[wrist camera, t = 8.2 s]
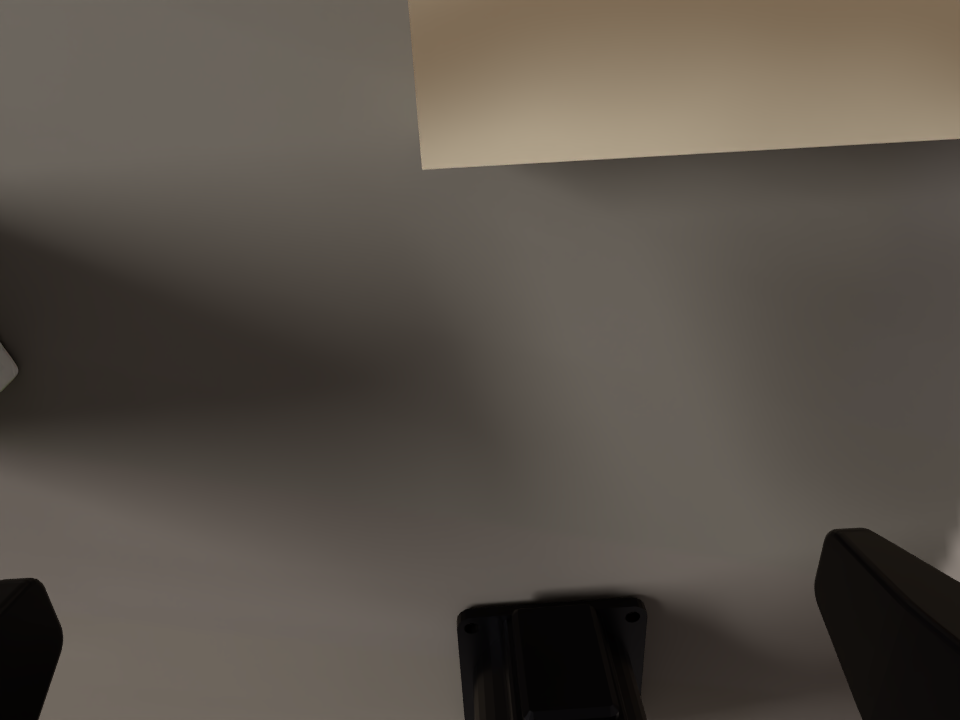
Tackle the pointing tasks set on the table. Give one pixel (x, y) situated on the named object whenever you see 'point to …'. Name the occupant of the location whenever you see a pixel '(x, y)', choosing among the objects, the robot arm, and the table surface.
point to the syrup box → (6, 368)
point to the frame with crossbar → (678, 77)
